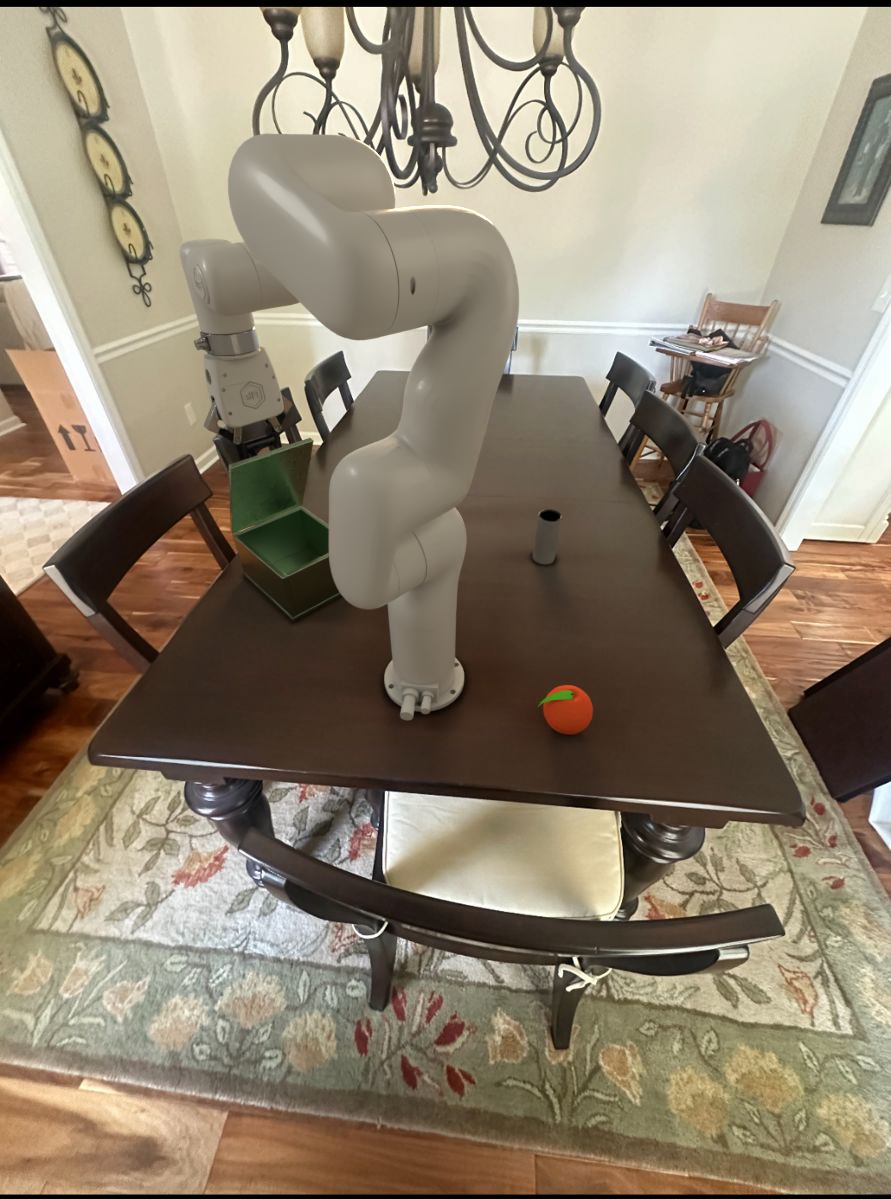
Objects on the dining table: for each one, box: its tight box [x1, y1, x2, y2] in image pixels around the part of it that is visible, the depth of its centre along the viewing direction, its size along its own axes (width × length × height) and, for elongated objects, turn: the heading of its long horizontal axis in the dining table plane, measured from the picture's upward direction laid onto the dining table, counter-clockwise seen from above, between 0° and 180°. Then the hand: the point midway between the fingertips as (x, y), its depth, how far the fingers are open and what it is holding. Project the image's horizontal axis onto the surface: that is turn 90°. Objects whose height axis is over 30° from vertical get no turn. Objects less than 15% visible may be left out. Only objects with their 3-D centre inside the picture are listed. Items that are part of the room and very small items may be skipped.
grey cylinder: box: [532, 508, 563, 565], centre depth 103 cm, size 4×4×10 cm
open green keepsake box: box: [232, 505, 343, 623], centre depth 97 cm, size 18×15×10 cm
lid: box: [228, 434, 315, 535], centre depth 91 cm, size 19×15×5 cm
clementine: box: [537, 684, 594, 736], centre depth 73 cm, size 8×7×7 cm
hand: (260, 456), depth 87 cm, fingers closed on lid, 5 cm apart
